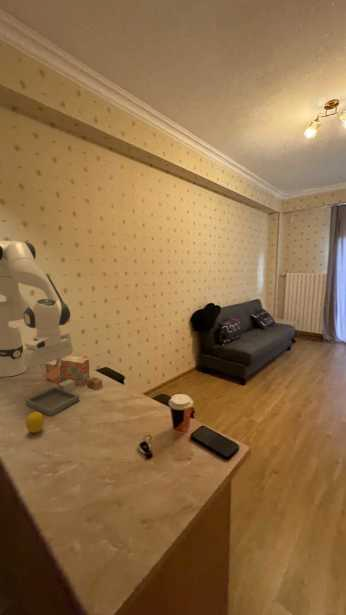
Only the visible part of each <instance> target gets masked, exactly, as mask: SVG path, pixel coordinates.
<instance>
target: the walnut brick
mask: <svg viewBox="0 0 346 615" xmlns="http://www.w3.org/2000/svg"><path fill="white" fill-rule="evenodd" d="M86 384H87V386H86V387H87V388H89V389H91V390H94V391H98V390H99V389H101V388H103V379H101V378H98V377H96V376H92V377H90V379H88V380H87V383H86Z"/></svg>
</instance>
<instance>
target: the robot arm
mask: <svg viewBox="0 0 346 615" xmlns="http://www.w3.org/2000/svg"><path fill="white" fill-rule="evenodd" d="M36 252H37V251H36V248H35V246H34V245H33V244H32V243H30V242H27V241H23V242H22V241H18V240H0V295H1V296H3V297H5V301H0V378H1V377H2V378H5V377H13V376H17V375H20V374H23V373H25V372H27V370H28V368H30V369H33V368H36V367H40V369H41V372H42V371H43V373H44V374H46V373H48V368H45V366H46V363H48V362H51V361H54V360H57V361H56V364H55V365H54V366H57V367H60V363H61V360H62V359H63V358H65V357H67V356H71V355H72V354H73V345H72V339H71V338H72V337H71V336H70V334H67V333H66V334H64V335H61V334H62V333H61V328H60V326H65V325H66V324H67V323H68V321H69V320H70V319H71V310H70V308H69V306H68V305H67V304H66V302H65V301H64V300H63V299H62V297H61V295H60V293H59V291H58V289H57V288H56V285H55V283H54V282H53V281H52V279H51V277H50V276H49V275H48V274H47V273H45V272H44V271H42V270H41V269H40V267H39V266H38V265H37V262H36V256H37V255H36V254H37V253H36ZM19 283H20V284H21V285H24V286H30V287H33V288H36V289H39V290H41V291H43V292H44V294H45V296H46V297H47V298H41V299H38V300H36V301H35V304H34V305H32V303H31V302H30V301H29V300H28V299H26V298H24V297H23V295H22V294H21V290H20V287H19ZM21 320H23V321H24V324H25V325H26V327H28V328H30V329H36V335H35V336H33V337H31V338H30V339H28V340H27V341H25V342H24V346H23V342H22V333H21V331H20V329H17V328H15V327H12V326H10V325H9V322H15V321H21ZM24 347H25V349H24Z"/></svg>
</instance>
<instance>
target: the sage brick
mask: <svg viewBox="0 0 346 615" xmlns="http://www.w3.org/2000/svg"><path fill="white" fill-rule="evenodd" d="M57 388H59V389H62V390H65V391H68V392H70V391H74V390H75V389H76V385H75V381H73V380H70V379H68V380H66V381H64V382H61V383H59V382H58V383H57Z"/></svg>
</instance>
